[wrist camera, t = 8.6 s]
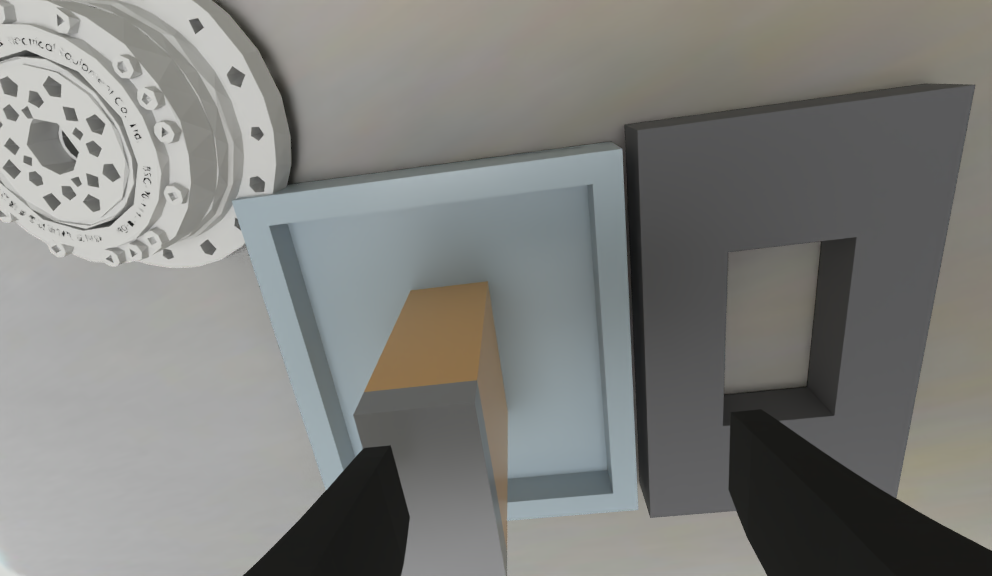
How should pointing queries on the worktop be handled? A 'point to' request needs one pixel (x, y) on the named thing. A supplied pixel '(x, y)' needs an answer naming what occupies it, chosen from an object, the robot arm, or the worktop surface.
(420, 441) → the orange two-tone block
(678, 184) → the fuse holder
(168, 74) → the mechanical component
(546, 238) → the parts tray
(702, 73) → the worktop surface
